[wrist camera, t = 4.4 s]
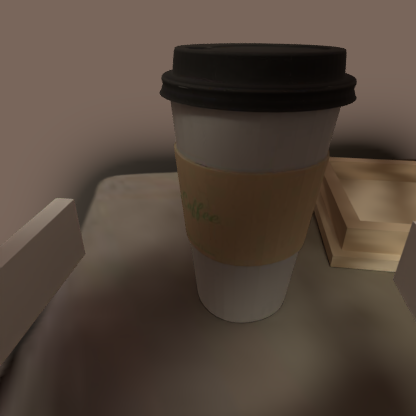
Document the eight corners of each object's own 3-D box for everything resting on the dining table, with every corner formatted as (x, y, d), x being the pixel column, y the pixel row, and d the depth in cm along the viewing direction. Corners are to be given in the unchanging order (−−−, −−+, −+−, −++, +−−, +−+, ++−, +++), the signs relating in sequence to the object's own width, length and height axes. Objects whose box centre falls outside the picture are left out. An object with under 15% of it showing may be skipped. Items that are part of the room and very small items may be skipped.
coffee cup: (143, 290, 23) (115, 46, 16) (233, 236, 29) (242, 41, 22) (255, 380, 17) (291, 58, 10) (338, 289, 23) (398, 47, 16)
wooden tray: (457, 186, 38) (467, 161, 37) (584, 288, 23) (609, 252, 22) (304, 177, 40) (308, 153, 39) (330, 266, 25) (338, 232, 24)
